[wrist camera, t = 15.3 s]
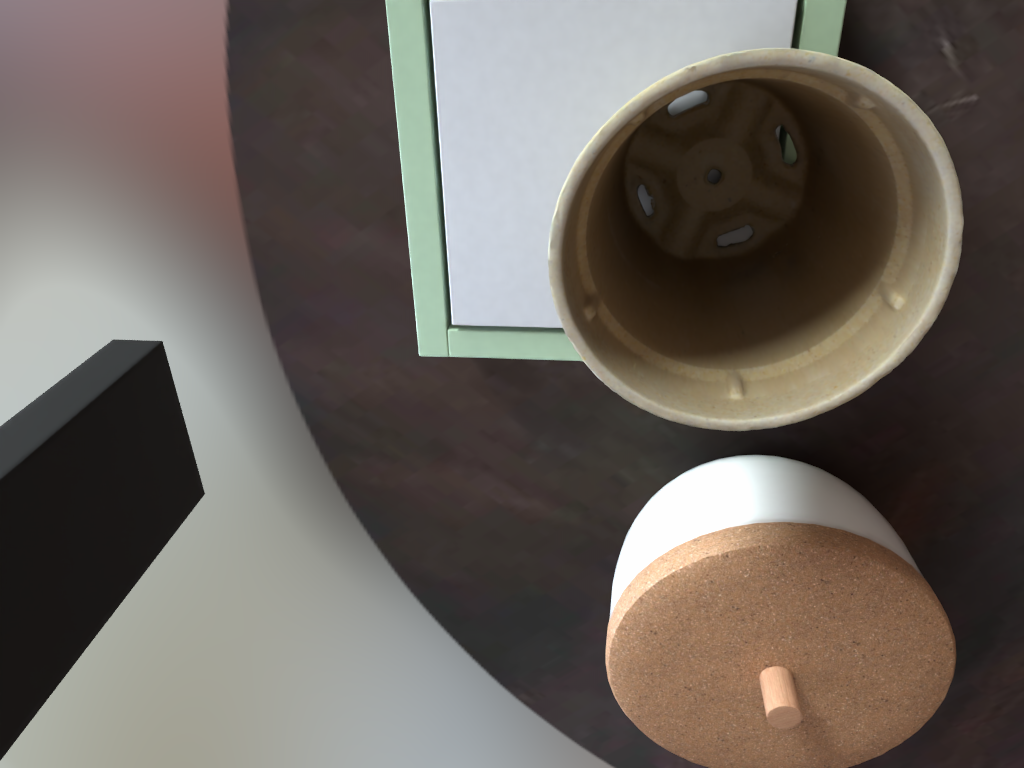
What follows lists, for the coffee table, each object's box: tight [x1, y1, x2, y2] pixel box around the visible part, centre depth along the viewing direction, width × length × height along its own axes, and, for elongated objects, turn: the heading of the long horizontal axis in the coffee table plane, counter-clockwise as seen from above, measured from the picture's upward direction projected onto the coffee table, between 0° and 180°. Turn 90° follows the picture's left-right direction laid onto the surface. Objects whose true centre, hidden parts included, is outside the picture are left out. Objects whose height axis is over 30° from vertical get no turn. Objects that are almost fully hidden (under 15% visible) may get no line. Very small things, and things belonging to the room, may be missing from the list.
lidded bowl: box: [606, 455, 956, 768], centre depth 32 cm, size 13×13×11 cm
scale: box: [386, 0, 847, 361], centre depth 28 cm, size 15×14×4 cm
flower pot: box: [548, 48, 964, 431], centre depth 22 cm, size 9×9×9 cm
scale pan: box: [430, 0, 798, 328], centre depth 27 cm, size 11×11×2 cm
